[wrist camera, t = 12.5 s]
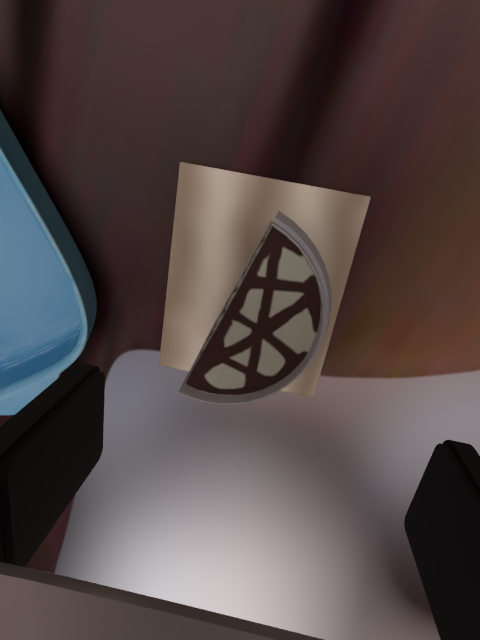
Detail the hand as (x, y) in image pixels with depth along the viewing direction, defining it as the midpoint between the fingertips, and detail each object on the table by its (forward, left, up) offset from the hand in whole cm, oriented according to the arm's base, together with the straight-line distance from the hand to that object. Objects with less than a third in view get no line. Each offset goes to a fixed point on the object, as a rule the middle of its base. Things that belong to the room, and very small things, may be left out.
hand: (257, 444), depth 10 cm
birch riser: (+2, +2, -24) cm, 24 cm away
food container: (0, +1, -21) cm, 21 cm away
